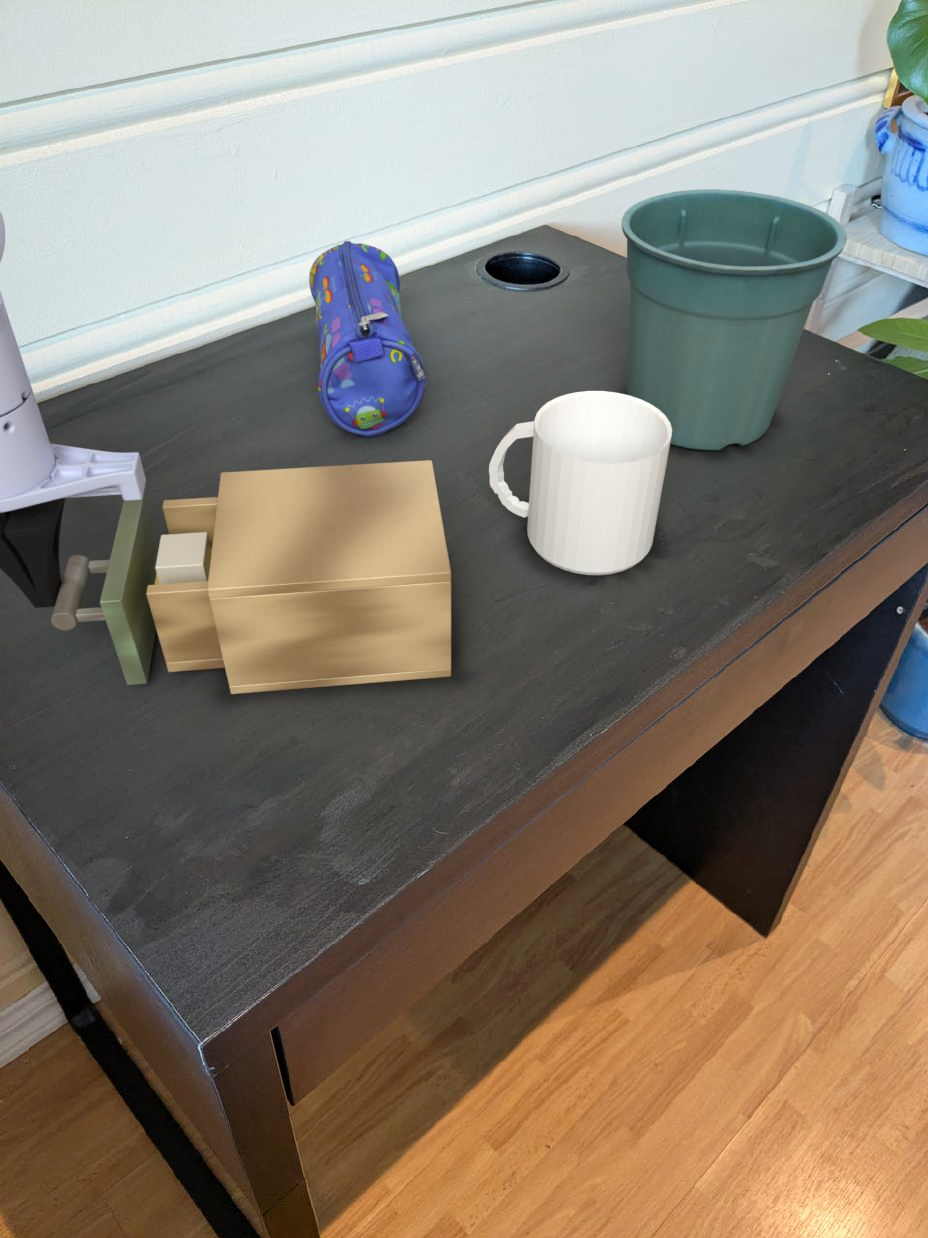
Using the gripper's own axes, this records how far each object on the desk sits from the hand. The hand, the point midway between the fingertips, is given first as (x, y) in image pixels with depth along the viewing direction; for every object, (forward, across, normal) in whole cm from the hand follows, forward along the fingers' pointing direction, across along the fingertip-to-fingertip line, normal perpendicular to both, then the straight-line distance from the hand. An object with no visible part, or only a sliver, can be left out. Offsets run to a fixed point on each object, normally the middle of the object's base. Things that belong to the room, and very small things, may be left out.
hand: (48, 596), depth 59 cm
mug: (+4, -34, -8) cm, 36 cm away
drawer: (+3, -9, 0) cm, 9 cm away
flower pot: (+4, -48, -23) cm, 54 cm away
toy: (+2, -9, 0) cm, 9 cm away
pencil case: (+4, -21, -32) cm, 38 cm away
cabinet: (+4, -17, 0) cm, 18 cm away
